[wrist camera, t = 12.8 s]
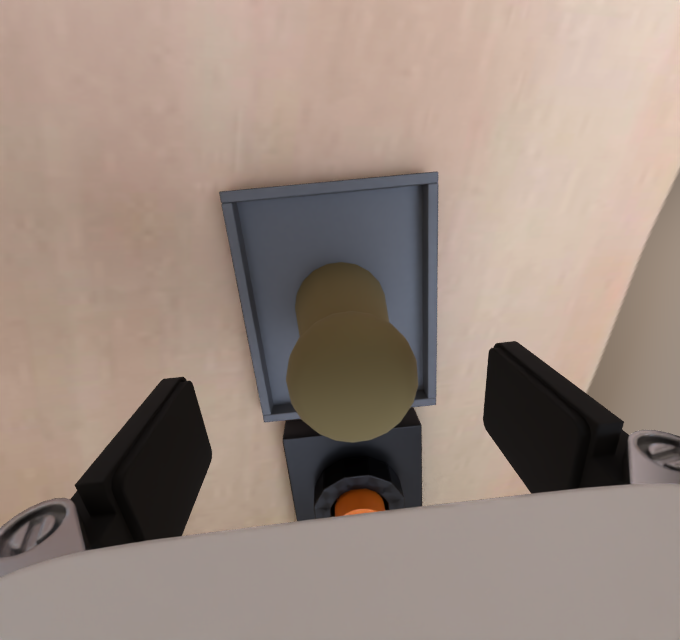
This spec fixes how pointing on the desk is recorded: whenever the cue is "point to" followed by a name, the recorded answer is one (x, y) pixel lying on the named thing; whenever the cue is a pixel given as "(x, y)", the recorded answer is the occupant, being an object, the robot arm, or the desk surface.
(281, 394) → the tray
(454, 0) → the desk surface
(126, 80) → the desk surface
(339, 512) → the button
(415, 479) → the control block
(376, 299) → the olive rounded lobed piece
